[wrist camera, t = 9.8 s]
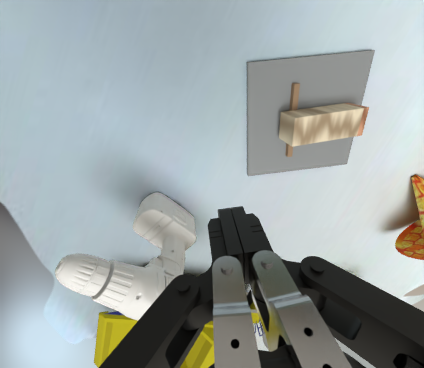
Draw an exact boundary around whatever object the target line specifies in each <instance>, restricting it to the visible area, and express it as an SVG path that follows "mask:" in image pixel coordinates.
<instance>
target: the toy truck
mask: <svg viewBox="0 0 424 368" xmlns="http://www.w3.org/2000/svg"><path fill="white" fill-rule="evenodd" d="M246 296H247V301H248V306H250V310H251V315H252V321H253V323H256V324H257V323H259V322H260V318H259V316H258V313H257V310H256V307H255V304H254V302H253V299H252V292H251V290H250V291H249V292H246ZM137 321H138V320H134V319H131V318H129V317H126V316H125V315H123V314H122V313H120V312H119V311H117V312H111V313H108V311H107V312H100V313H99V319H98V329H97V338H96V349H95V358H94V363H95V364H96V365H97V367H98V368H99V367H100V365H101V364H102V363H103V362H104V361H105V359H106V358H107V357H108V356H109V355H110V353H111V352H112V351H113V350H114V349H115V348H116V346H117V345H118V344H119V343H120V342H121V340H122V339H123V338H124V337H125V336H126V335H127V333H128V332H129V331H130V330H131V329H132V327H133V326H134V325H135V324H136V323H137ZM253 326H254V325H253ZM260 326H261V323H260ZM257 328H258V325H257ZM259 328H261V329H262V326H261V327H259ZM259 328H258V332H259ZM255 332H256V326H255ZM262 333H263V330H262ZM264 333H265V332H264ZM264 333H263V334H262V335H264ZM262 335H260V333H259V336H262ZM212 364H214V332H213V320H212V321H210V322H208V323H207V324H205V326H204V328H203V330H202V332H201V333H200V335H199V337H198V338H197V340H196V342H195V343H194V345H193V347H192V348H191V350H190V352H189V353H188V355H187V357H186V358H185V360H184V362H183V363H182V365H181V367H180V368H208V367H209V366H211V365H212Z"/></svg>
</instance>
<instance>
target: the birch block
mask: <svg viewBox="0 0 424 368" xmlns="http://www.w3.org/2000/svg"><path fill="white" fill-rule="evenodd" d="M368 110H369V107H365V106H361V105H356V104H352V103H342V104H335V105H328V106H321V107H313V108H306V109H299V110H292V111H285V112H281V116H280V130H279V139H281V140H283V141H284V142H286V143H287V144H289V145H290V146H292V147H293V146H300V145H306V144H312V143H318V142H324V141H330V140H336V139H342V138H348V137H354V136H360V135H362V132H363V129H364V125H365V121H366V117H367V114H368Z"/></svg>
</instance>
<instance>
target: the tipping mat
mask: <svg viewBox="0 0 424 368" xmlns="http://www.w3.org/2000/svg"><path fill="white" fill-rule="evenodd" d="M374 52H375V50H369V51H359V52H348V53H338V54H328V55H318V56H307V57H297V58H287V59H277V60H266V61H256V62H247V175H248V176H253V175H261V174H269V173H278V172H286V171H294V170H302V169H311V168H319V167H327V166H335V165H344V164H347V161H348V157H349V153H350V149H351V145H352V141H353V137H348V138H342V139H336V140H330V141H324V142H318V143H312V144H306V145H300V146H293V147H292V146H290V145H289V144H287V143H286V142H284V141H283V140H281V139H279V130H280V116H281V112H285V111H292V110H299V109H306V108H313V107H321V106H328V105H335V104H342V103H352V104H356V105H361V104H362V100H363V96H364V92H365V88H366V84H367V80H368V76H369V72H370V68H371V64H372V60H373V56H374Z"/></svg>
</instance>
